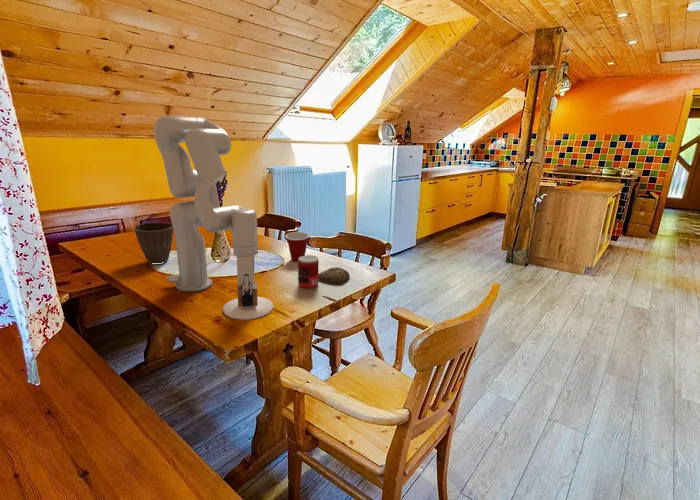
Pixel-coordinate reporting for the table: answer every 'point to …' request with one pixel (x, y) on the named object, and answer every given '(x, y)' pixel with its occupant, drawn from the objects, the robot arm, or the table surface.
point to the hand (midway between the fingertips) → (248, 300)
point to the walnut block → (254, 291)
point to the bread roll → (334, 276)
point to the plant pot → (155, 241)
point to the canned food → (308, 271)
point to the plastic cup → (297, 244)
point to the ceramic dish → (248, 309)
